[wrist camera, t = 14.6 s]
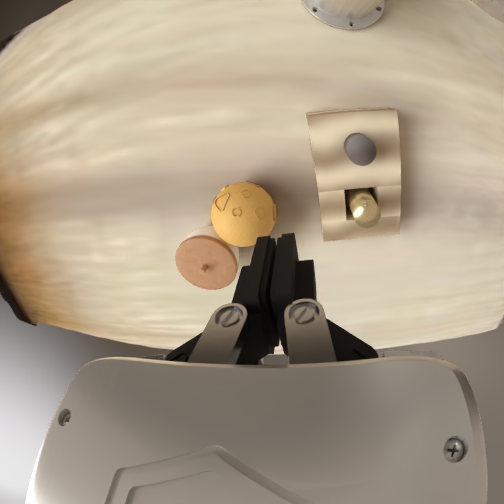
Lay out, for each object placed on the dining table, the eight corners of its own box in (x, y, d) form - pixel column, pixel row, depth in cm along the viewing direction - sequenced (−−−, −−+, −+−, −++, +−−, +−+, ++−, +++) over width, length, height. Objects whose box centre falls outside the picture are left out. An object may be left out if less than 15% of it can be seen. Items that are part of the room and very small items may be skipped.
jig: (305, 113, 37) (307, 118, 31) (388, 107, 34) (404, 112, 28) (322, 229, 47) (325, 252, 42) (392, 222, 44) (404, 243, 38)
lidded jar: (233, 271, 56) (223, 304, 48) (184, 251, 55) (166, 281, 47) (253, 229, 49) (244, 260, 42) (197, 206, 48) (178, 233, 41)
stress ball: (257, 228, 50) (296, 233, 42) (212, 253, 46) (247, 263, 38) (240, 176, 47) (279, 170, 39) (191, 196, 42) (223, 193, 34)
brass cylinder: (344, 183, 42) (353, 203, 35) (368, 181, 41) (380, 201, 34) (346, 205, 44) (354, 229, 38) (369, 203, 43) (380, 226, 37)
